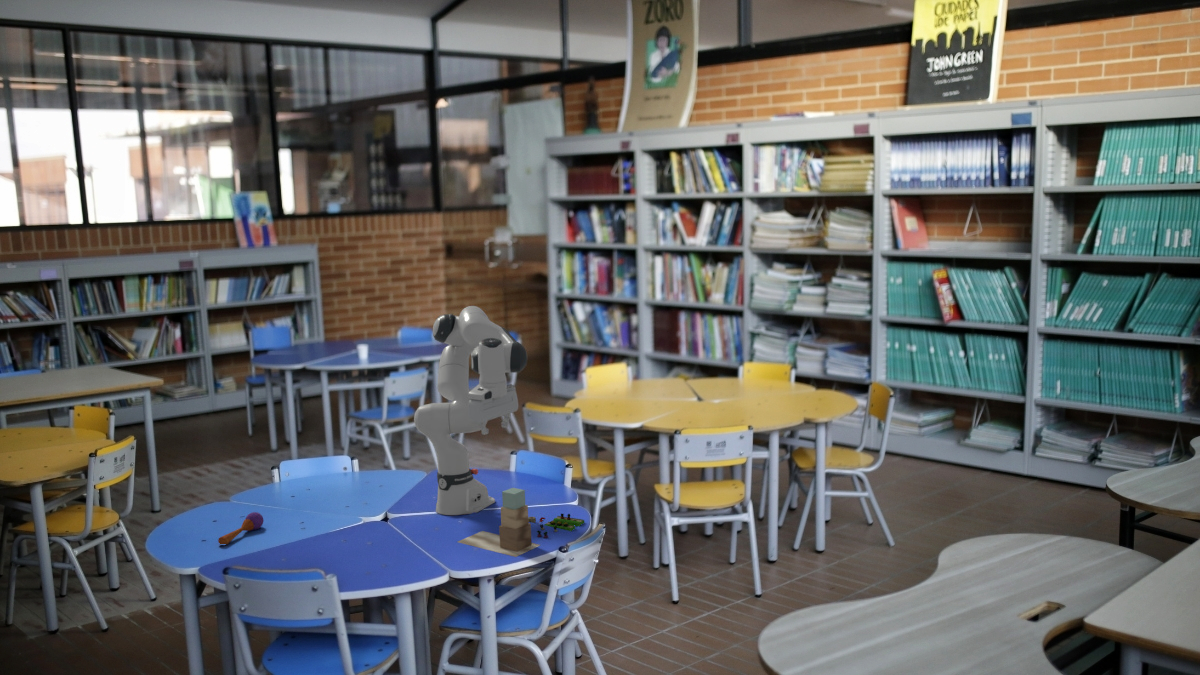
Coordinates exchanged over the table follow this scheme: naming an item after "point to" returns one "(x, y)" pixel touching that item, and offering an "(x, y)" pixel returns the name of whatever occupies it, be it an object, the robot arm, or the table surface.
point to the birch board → (492, 543)
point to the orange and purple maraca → (244, 527)
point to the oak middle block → (514, 517)
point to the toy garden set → (558, 523)
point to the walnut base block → (515, 537)
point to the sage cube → (513, 498)
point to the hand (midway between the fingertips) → (495, 430)
